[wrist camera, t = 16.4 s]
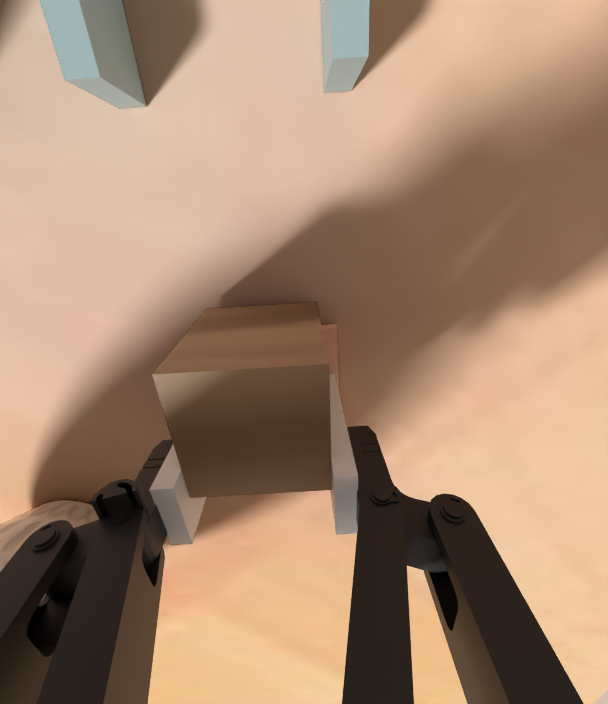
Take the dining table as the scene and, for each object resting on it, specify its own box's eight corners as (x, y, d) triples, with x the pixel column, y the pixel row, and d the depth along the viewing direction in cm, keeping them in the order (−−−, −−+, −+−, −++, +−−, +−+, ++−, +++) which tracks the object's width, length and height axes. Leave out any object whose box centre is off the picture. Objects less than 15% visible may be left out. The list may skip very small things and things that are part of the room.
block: (206, 308, 14) (151, 374, 9) (316, 302, 14) (329, 364, 9) (224, 400, 16) (190, 497, 11) (320, 394, 16) (332, 489, 11)
